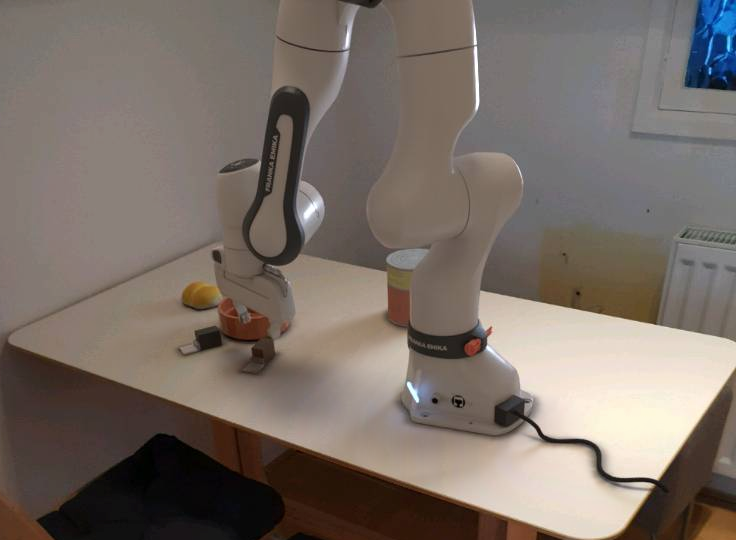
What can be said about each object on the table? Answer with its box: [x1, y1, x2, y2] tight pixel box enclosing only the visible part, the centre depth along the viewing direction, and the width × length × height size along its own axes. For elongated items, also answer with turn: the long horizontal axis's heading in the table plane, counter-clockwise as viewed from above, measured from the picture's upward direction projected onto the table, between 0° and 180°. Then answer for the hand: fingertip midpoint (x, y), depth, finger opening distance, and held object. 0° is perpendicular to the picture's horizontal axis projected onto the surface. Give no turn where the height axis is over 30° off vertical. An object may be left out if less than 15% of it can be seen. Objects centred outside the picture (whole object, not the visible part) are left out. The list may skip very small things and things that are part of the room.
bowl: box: [217, 296, 291, 341], centre depth 167 cm, size 14×14×5 cm
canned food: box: [385, 247, 430, 328], centre depth 165 cm, size 11×11×12 cm
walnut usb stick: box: [242, 337, 276, 374], centre depth 154 cm, size 8×3×3 cm, turn 157°
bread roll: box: [181, 281, 224, 310], centre depth 178 cm, size 8×9×4 cm
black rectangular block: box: [179, 325, 223, 356], centre depth 161 cm, size 8×3×3 cm, turn 116°
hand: (259, 329), depth 153 cm, fingers open, 8 cm apart
